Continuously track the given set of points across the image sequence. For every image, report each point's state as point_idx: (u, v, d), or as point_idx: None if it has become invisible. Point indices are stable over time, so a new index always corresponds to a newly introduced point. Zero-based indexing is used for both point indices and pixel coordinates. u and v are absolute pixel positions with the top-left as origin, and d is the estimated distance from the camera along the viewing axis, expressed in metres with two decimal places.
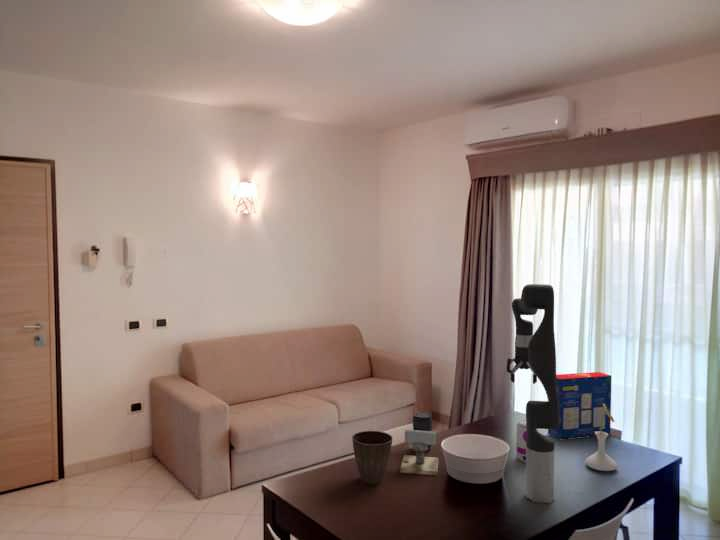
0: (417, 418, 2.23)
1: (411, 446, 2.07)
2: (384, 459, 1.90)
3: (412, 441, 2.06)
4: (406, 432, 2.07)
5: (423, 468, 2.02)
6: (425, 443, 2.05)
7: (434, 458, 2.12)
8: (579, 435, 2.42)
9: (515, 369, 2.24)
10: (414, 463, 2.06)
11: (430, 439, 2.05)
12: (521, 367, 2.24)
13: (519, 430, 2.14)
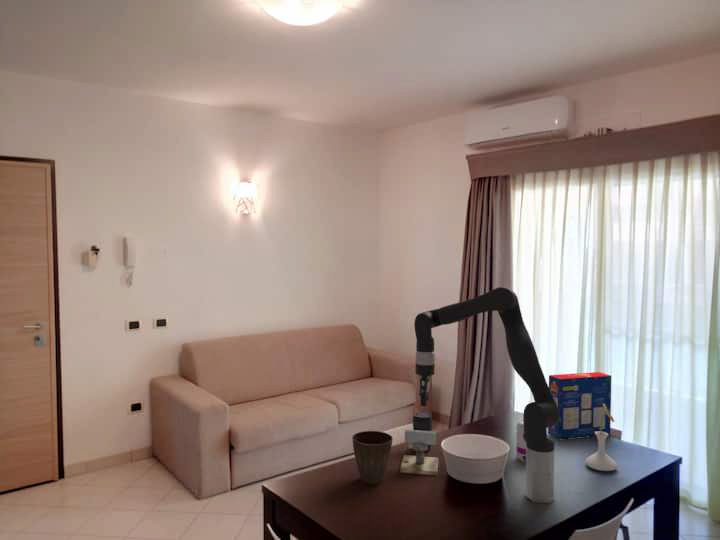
0: (417, 418, 2.23)
1: (411, 446, 2.07)
2: (384, 459, 1.90)
3: (412, 441, 2.06)
4: (406, 432, 2.07)
5: (423, 468, 2.02)
6: (425, 443, 2.05)
7: (434, 458, 2.12)
8: (579, 435, 2.42)
9: (427, 390, 2.05)
10: (414, 463, 2.06)
11: (430, 439, 2.05)
12: None
13: (519, 430, 2.14)
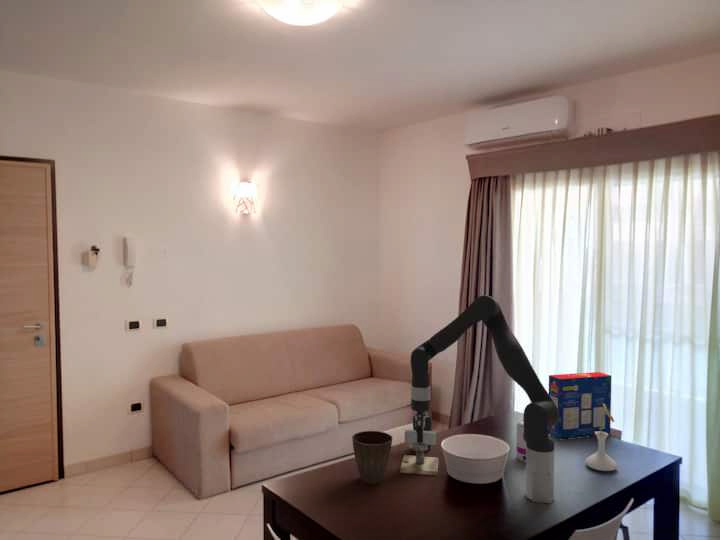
0: None
1: (411, 446, 2.07)
2: (384, 459, 1.90)
3: (412, 441, 2.06)
4: (406, 432, 2.07)
5: (423, 468, 2.02)
6: (425, 443, 2.05)
7: (434, 458, 2.12)
8: (579, 435, 2.42)
9: (423, 427, 2.05)
10: (414, 463, 2.06)
11: (430, 439, 2.05)
12: None
13: (519, 430, 2.14)
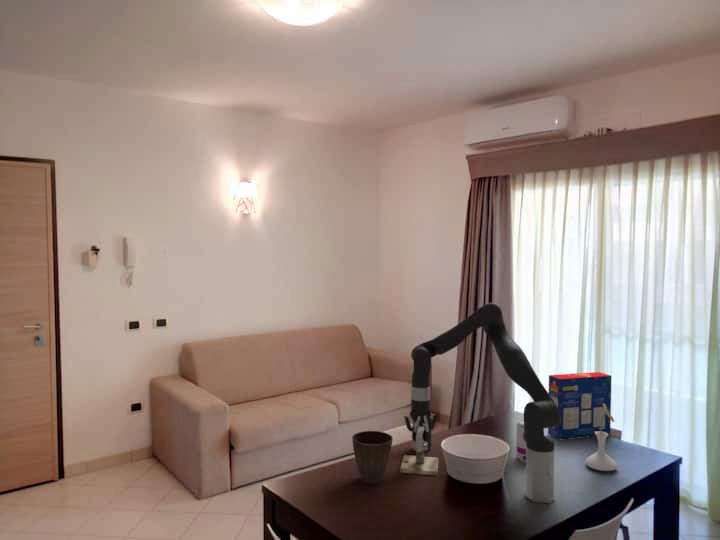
0: None
1: (421, 449, 2.04)
2: (384, 459, 1.90)
3: (422, 443, 2.04)
4: (422, 437, 2.01)
5: (423, 468, 2.02)
6: (423, 440, 2.09)
7: (434, 458, 2.12)
8: (579, 435, 2.42)
9: None
10: (414, 463, 2.06)
11: None
12: None
13: (519, 430, 2.14)
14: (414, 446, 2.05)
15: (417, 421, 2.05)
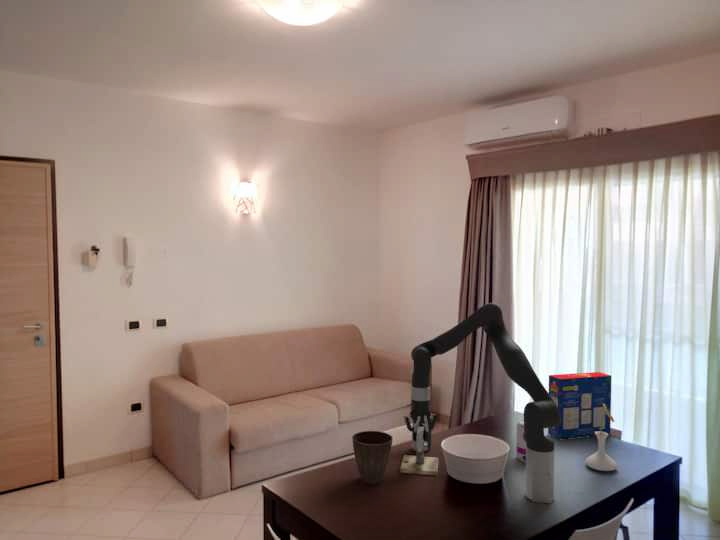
0: None
1: (421, 449, 2.04)
2: (384, 459, 1.90)
3: (423, 443, 2.04)
4: (422, 437, 2.01)
5: (423, 468, 2.02)
6: (423, 440, 2.09)
7: (434, 458, 2.12)
8: (579, 435, 2.42)
9: None
10: (414, 463, 2.06)
11: None
12: None
13: (519, 430, 2.14)
14: (414, 446, 2.05)
15: (417, 421, 2.05)
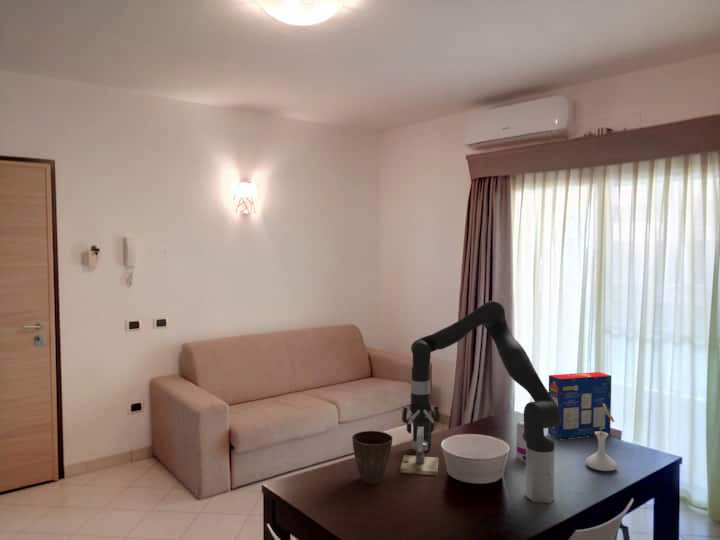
0: (417, 418, 2.23)
1: (421, 449, 2.04)
2: (384, 459, 1.90)
3: (423, 443, 2.04)
4: (422, 437, 2.01)
5: (423, 468, 2.02)
6: None
7: (434, 458, 2.12)
8: (579, 435, 2.42)
9: None
10: (414, 463, 2.06)
11: (423, 434, 2.11)
12: None
13: (519, 430, 2.14)
14: (414, 446, 2.05)
15: (415, 414, 2.05)
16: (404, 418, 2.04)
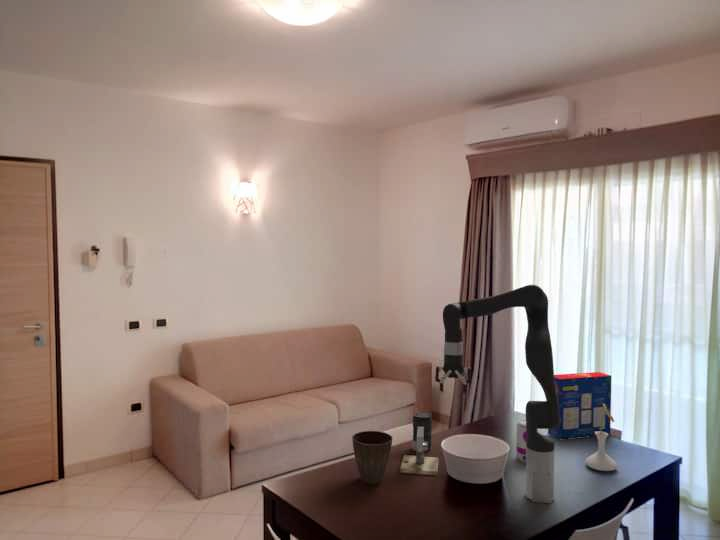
0: (417, 418, 2.23)
1: (421, 449, 2.04)
2: (384, 459, 1.90)
3: (423, 443, 2.04)
4: (422, 437, 2.01)
5: (423, 468, 2.02)
6: None
7: (434, 458, 2.12)
8: (579, 435, 2.42)
9: None
10: (414, 463, 2.06)
11: (423, 434, 2.11)
12: None
13: (519, 430, 2.14)
14: (414, 446, 2.05)
15: (447, 374, 2.11)
16: (436, 377, 2.12)
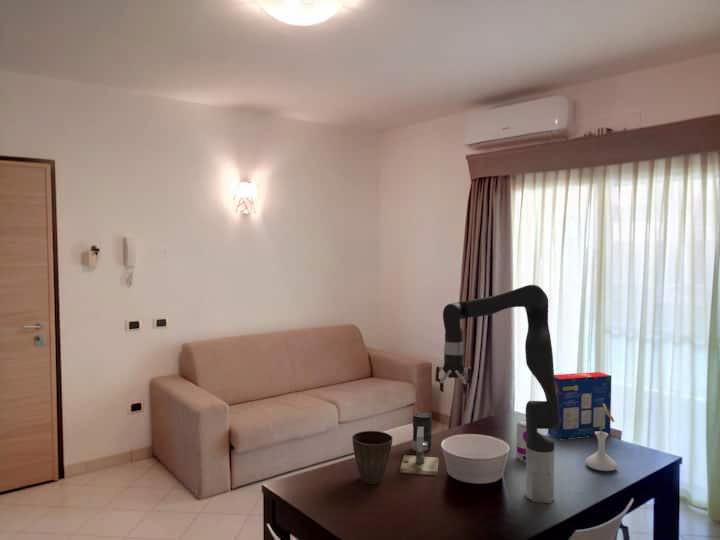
0: (417, 418, 2.23)
1: (421, 449, 2.04)
2: (384, 459, 1.90)
3: (423, 443, 2.04)
4: (422, 437, 2.01)
5: (423, 468, 2.02)
6: None
7: (434, 458, 2.12)
8: (579, 435, 2.42)
9: None
10: (414, 463, 2.06)
11: (423, 434, 2.11)
12: None
13: (519, 430, 2.14)
14: (414, 446, 2.05)
15: (447, 374, 2.11)
16: (436, 377, 2.12)
